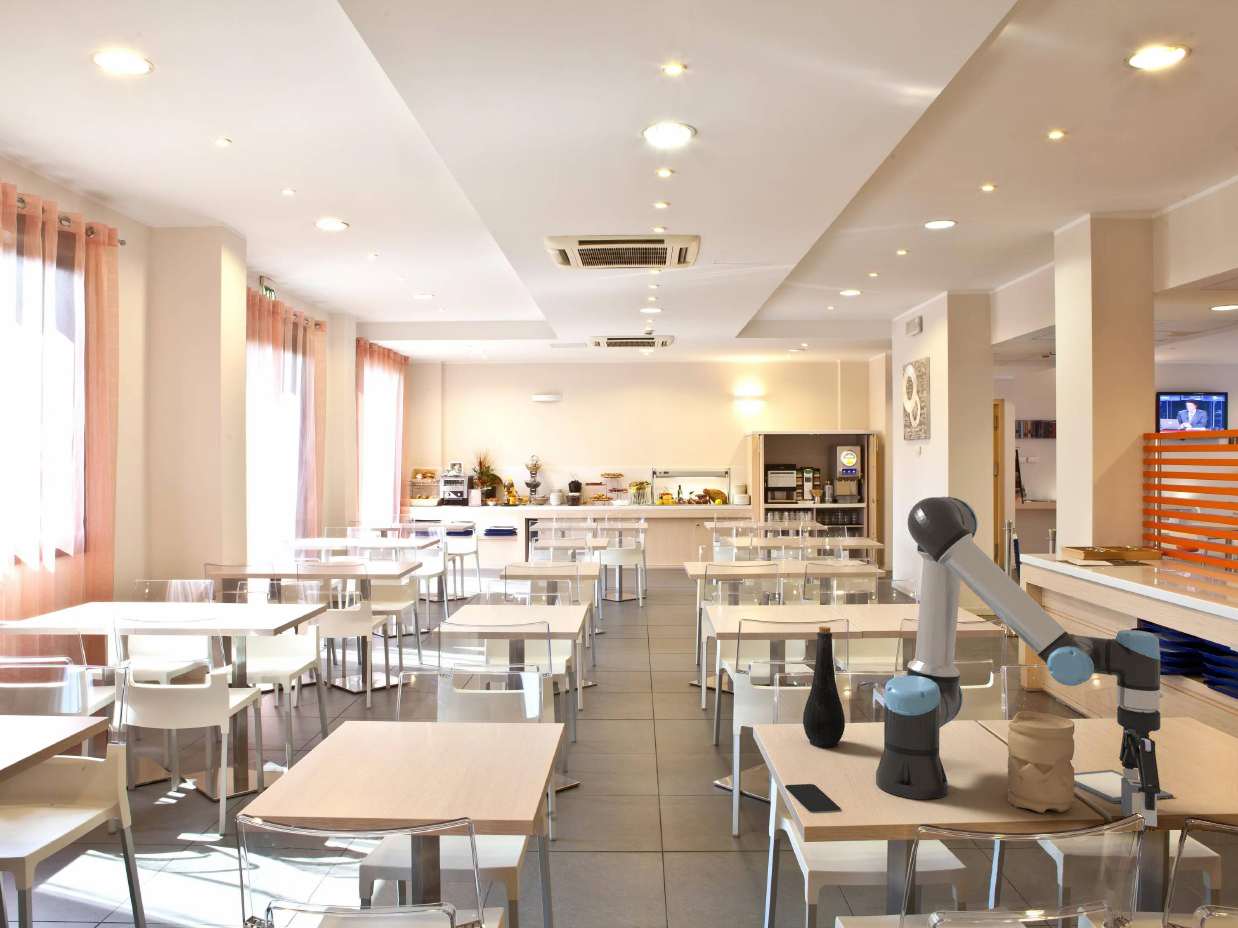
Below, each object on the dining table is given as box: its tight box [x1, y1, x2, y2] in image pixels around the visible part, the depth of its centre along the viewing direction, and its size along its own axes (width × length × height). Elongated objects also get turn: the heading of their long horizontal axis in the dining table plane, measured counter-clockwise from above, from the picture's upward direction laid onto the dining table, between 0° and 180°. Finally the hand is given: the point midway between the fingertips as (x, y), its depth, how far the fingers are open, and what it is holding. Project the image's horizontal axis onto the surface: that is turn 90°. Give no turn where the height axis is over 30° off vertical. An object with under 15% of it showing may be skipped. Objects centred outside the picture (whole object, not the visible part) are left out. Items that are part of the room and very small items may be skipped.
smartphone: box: [784, 783, 842, 814], centre depth 176 cm, size 7×1×15 cm
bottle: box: [802, 626, 846, 749], centre depth 213 cm, size 11×11×30 cm
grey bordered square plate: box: [1074, 769, 1174, 805], centre depth 185 cm, size 16×16×1 cm
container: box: [1007, 710, 1075, 814], centre depth 174 cm, size 13×13×18 cm
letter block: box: [1120, 778, 1152, 817], centre depth 168 cm, size 5×5×7 cm
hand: (1139, 812), depth 168 cm, fingers open, 13 cm apart
